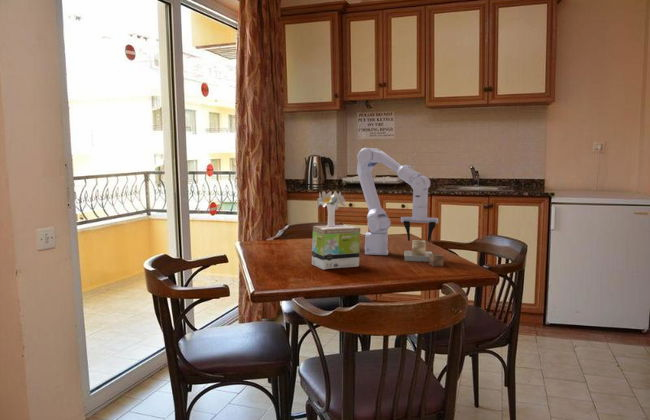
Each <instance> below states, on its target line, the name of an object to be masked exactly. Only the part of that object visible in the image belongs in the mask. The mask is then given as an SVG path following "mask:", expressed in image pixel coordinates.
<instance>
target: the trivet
mask: <svg viewBox="0 0 650 420" xmlns="http://www.w3.org/2000/svg"><path fill="white" fill-rule="evenodd" d="M429 254H433V252H432V251H427V250H426V251H425V255H412V250H404V251H403V257H404V258H403V259H404V262H422V261H423V262H424V263H426V262H428V263H429Z"/></svg>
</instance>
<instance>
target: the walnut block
mask: <svg viewBox="0 0 650 420" xmlns="http://www.w3.org/2000/svg"><path fill="white" fill-rule="evenodd" d="M428 265H430V266H431V265H432V266H431V267H444V255H443V254H441V253H432V254H429V262H428Z"/></svg>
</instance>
